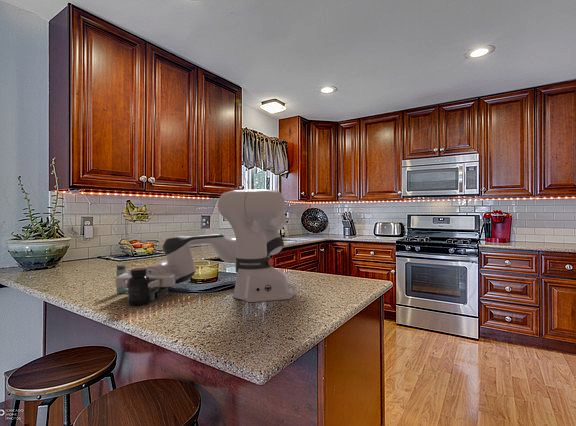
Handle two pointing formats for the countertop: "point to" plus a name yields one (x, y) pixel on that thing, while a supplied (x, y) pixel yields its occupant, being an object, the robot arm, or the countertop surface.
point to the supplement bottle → (138, 288)
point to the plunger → (119, 271)
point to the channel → (162, 293)
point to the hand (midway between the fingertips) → (137, 285)
